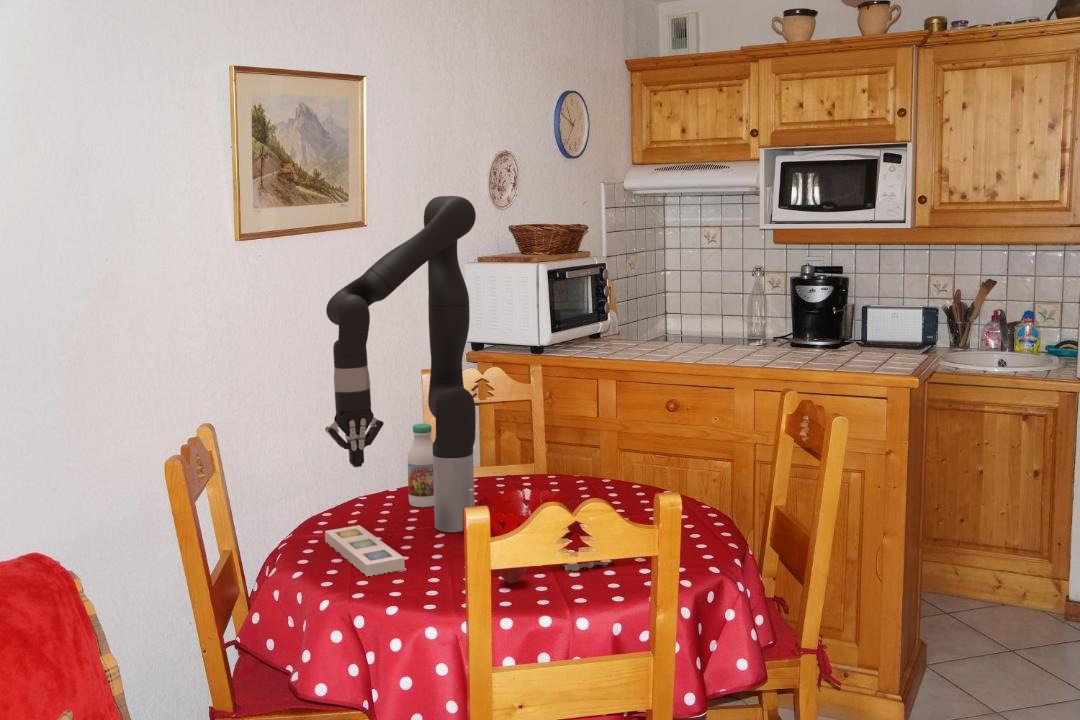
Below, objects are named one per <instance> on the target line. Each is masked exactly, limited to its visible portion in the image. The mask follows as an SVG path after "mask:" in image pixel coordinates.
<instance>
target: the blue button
mask: <svg viewBox="0 0 1080 720" xmlns="http://www.w3.org/2000/svg"><path fill="white" fill-rule="evenodd" d="M383 558H388V557H387V553H386V552H382V551H377V552H371V553H369V554H368V559H369V560H370V561H372V560H377V559H383Z"/></svg>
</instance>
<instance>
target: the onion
mask: <svg viewBox="0 0 1080 720" xmlns="http://www.w3.org/2000/svg"><path fill="white" fill-rule="evenodd" d="M527 568H528V567H527ZM527 568H515V569H505V570H498V569H497V573H498V575H499V577H501V579H503V580H504V581H505V582H507V583H508V584H511V585H514V584H516V583H517V582H518V581H519V580H520V579H522V578H523V576H525V574H526V571H527Z"/></svg>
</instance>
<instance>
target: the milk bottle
mask: <svg viewBox="0 0 1080 720" xmlns="http://www.w3.org/2000/svg"><path fill="white" fill-rule="evenodd" d="M432 428H433V427H432V424H430V423H416V424H413V426H412V435H413V440H412V444H411V447H410V449H409V450H408V451H409V452H408V455H407V456H408V457H407V485H408V486H407V488H408V489H407V490H408V502H409V505H410V506H412V507H415V508H430V507H434V480H433V442H434V441H433V440H432V434H433V432H432V430H433V429H432Z"/></svg>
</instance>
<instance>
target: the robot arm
mask: <svg viewBox="0 0 1080 720" xmlns="http://www.w3.org/2000/svg"><path fill="white" fill-rule="evenodd" d="M423 212H424V213H423V227H424V228H422V229H421V230H420V231H419V232H417V233H416V234H414V235H413V236H412V237H410V238H409V239H407V240H406V241H404V242H403V243H401V244H399V245H397V246H396V247H394V248H393V249H391V250H390V251H388V252H386V254H384V255H383V256H381V257H380V258H379V259H378V260H377V261H376V262H374V264H372V265H371V266H370V267H368V269H367V270H366V271H365V272H364V273H363V274H361V276H359V277H358V278H356V279H354V280H352V281H351V282H349V283H348V284H347V285H345V286H344V287H342V288H341V289H340V290H338V291H336V292H335V294H334V295H332V297H331V298H330V299H329V300H328V302H327V304H326V308H325V309H326V310H325V311H326V316H327V319H328V320H329V321H330V322H331V323H332V324H334V325H336V326H338V339H337V340H336V341H335V342H334V343H333V347H332V349H333V351H332V352H333V353H332V354H333V367H334V368H333V369H334V370H333V389H334V401H335V402H334V403H335V405H334V407H335V416H334V417H333V418H334V421H333V422H332V423H331V424H330V425H329V426H326V427H325V430H324V431H325V432H326V433H327V434H328V435H329V436H330V437H331V438H332V439H333V441H334V442H335V443H336V444H337V445H338V446H339V447H340V448H343V449H344V450H348V457H349V459H348V461H349V463H350V464H349V465H351V466H352V467H354V468H359V467H360V468H361V467H362V466H363V464H364V463H365V452H364V449H365V448H366V447H368V446H371V445H372V444H373V442H374V440H375V439H376V438H377V435H379V432H380V431H381V429H382V428H383V426H384V421H383V420H379V419H378V418H377V417H374V413H373V411H372V398H371V397H372V395H371V380H370V379H371V378H370V371H369V366H368V365H369V364H368V351H367V350H368V349H367V344H368V337H369V331H370V325H371V324H370V321H371V314H370V308H369V307H370V306H371V305H373V304H374V303H377V302H380V301H383V300H385V299H386V298H387V297H389V296H390V295H391V294H392V293H393V292H394V291H395V290H396V289H397V288H398V287H400V286H401V285H402V284H403V283H404V282H405V281H406V280H407V279H408V278H409V277H410V276H411V275H413V274H414V273H415V272H416V271H417V270H418V269H419V268H421V267H422V266H423V265H425V264H426V263H427V279H428V280H427V285H428V288H427V289H428V291H427V292H428V303H427V307H428V312H427V313H428V331H429V332H428V334H429V335H428V336H429V349H430V350H429V351H430V377H429V386H428V395H427V396H428V401H427V403H428V408H429V411H430V413H431V415H432V416H433V417H434V418H435V439H434V441H432V442H433V480H434V506H433V507H434V509H433V511H434V528H435V529H436V530H437V531H439V532H444V533H461V531H462V532H464V531H463V509H464V508H465V507H472V506H475V505H476V504H475V478H474V475H475V473H474V471H475V470H474V469H475V468H474V444H475V441H476V428H477V427H476V423H477V422H476V421H477V420H476V418H477V417H476V401H475V399H474V396H473V395H472V393H471V392H470V391H469V390H468V389H467V388H465V387H464V378H463V377H464V376H463V357H464V351H465V347H466V344H467V339H468V336H469V331H470V315H471V314H470V296H469V291H468V288H467V284H466V282H465V279H464V276H463V272H462V270H461V268H460V263H459V257H458V256H459V255H458V240H459V239H461V238H462V237H465V236H466V235H467V234H468V233H469V232H471V230H472V229H473V228H474V225H475V224H476V223H475V222H476V217H477V215H476V209H475V207H474V205H473V203H472V202H471V201H470V200H468V199H467V198H465V197H463V196H460V195H442V196H441V195H439V196H436V197H433V198H432V199H431V200H429V201H428V203H427V204H426V205H425V209H424V211H423ZM369 426H370V427H369ZM368 428H369V429H368ZM367 429H368V430H367ZM340 430H341V431H342V432H343V433H344V436H345V439H346V440H345V439H344V438H343V437H342V435H340V434H339V432H340ZM366 431H367V432H366ZM475 507H476V506H475Z"/></svg>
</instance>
